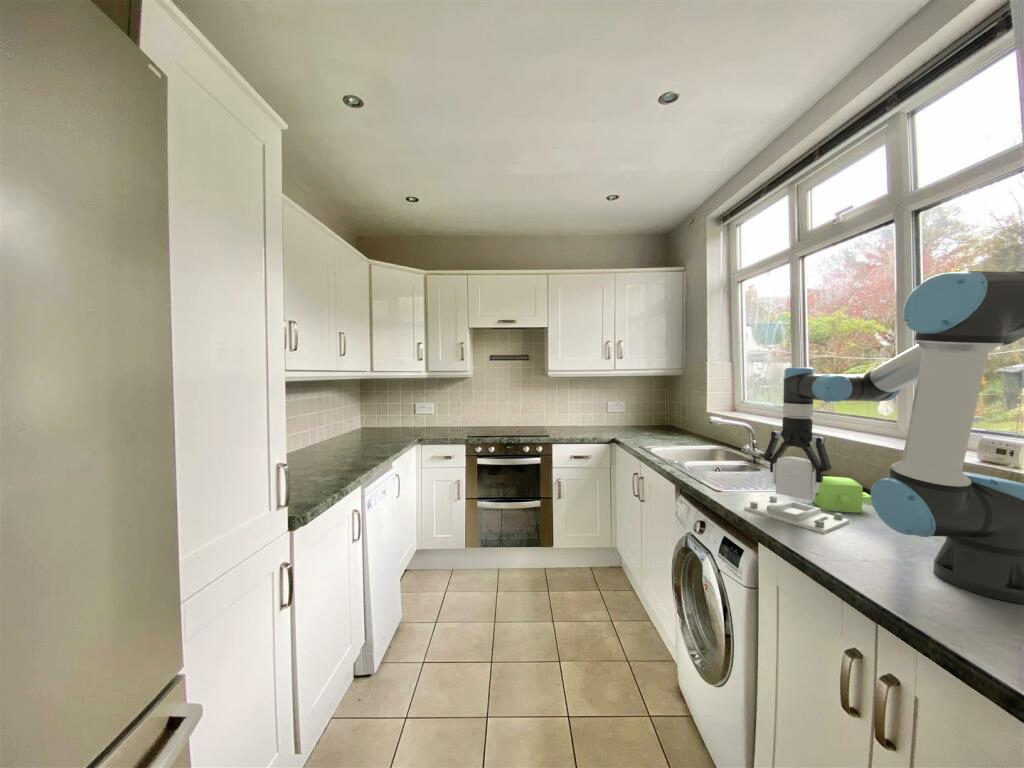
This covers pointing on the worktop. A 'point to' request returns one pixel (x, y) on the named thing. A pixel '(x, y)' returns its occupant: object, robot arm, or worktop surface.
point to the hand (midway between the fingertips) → (794, 487)
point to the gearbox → (841, 495)
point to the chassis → (798, 514)
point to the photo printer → (794, 477)
